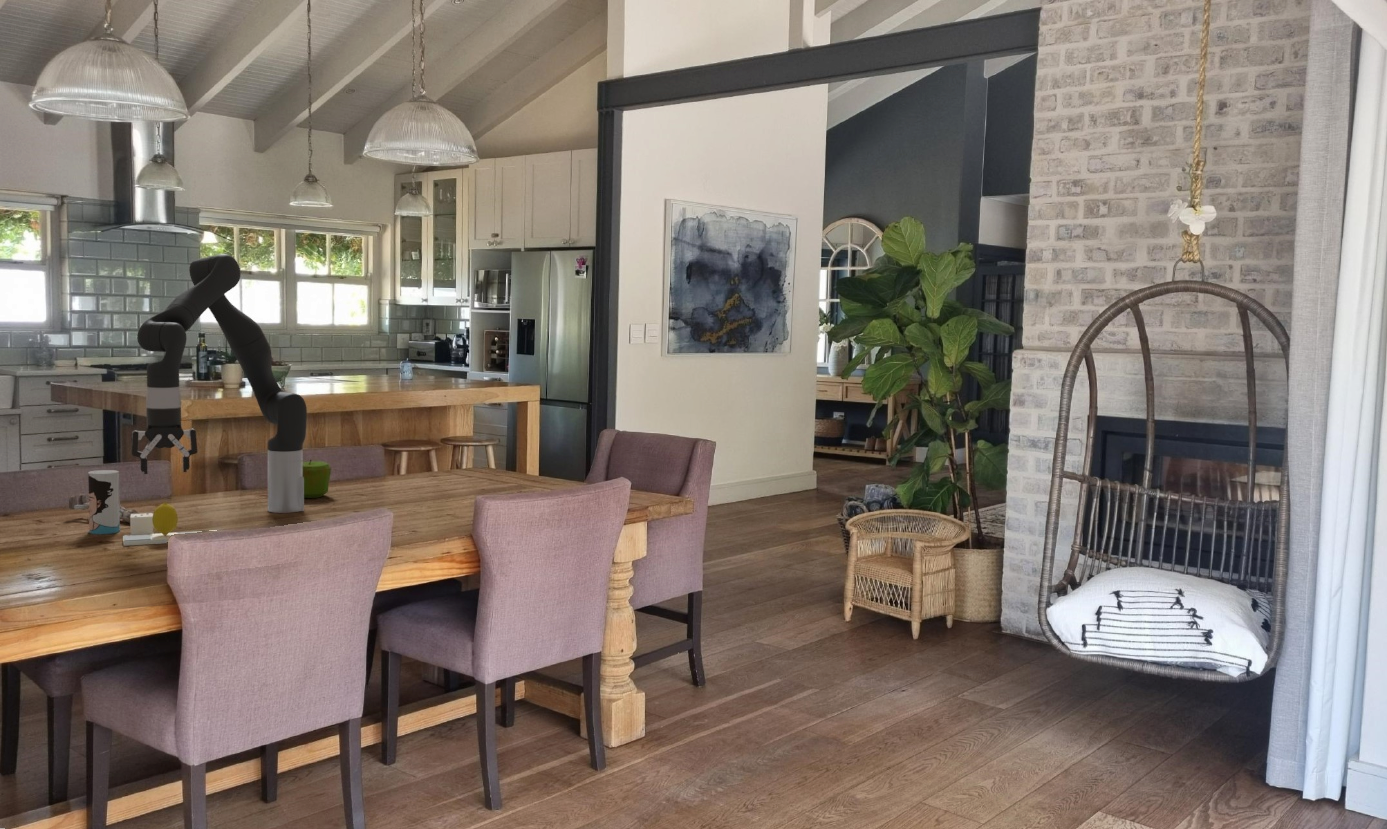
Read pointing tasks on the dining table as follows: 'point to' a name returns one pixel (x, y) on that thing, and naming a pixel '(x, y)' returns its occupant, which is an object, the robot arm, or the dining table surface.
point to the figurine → (84, 505)
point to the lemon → (165, 518)
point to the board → (149, 538)
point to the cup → (104, 502)
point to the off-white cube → (141, 524)
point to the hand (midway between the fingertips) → (165, 472)
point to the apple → (316, 478)
